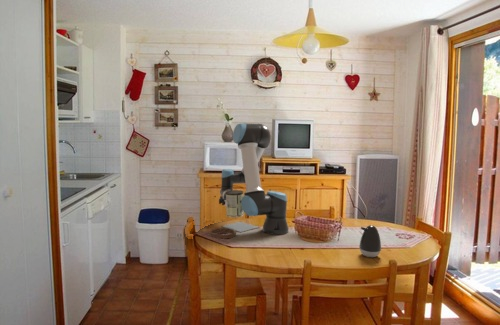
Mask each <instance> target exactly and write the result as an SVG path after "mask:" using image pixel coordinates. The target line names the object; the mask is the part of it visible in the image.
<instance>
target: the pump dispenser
mask: <svg viewBox="0 0 500 325" xmlns="http://www.w3.org/2000/svg"><path fill="white" fill-rule="evenodd" d="M360 229H361V230H363V232H362V235H361V236H360V241H359V251H360V253H361V254H362V255H363V256H364V257H366V258H376V257H377V256H379V254H380V252H381V251H382V241H381V236H380V233H379V231H378V229H377V227H376V226H374V225H371V224H370V225H368V226H366V227H363V226H361V227H360Z"/></svg>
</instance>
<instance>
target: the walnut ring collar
mask: <svg viewBox="0 0 500 325" xmlns="http://www.w3.org/2000/svg"><path fill="white" fill-rule="evenodd" d="M217 232H228V233H229V232H230V233H229V234H216V233H217ZM209 235H210V237H213V238H215V237H216V239H217V238H219V239H231V238H235V237H236V236H237V231H235V230H232V229H227V228H224V227H222V228H221V227H219V228H213V229H211V230H210V231H209Z"/></svg>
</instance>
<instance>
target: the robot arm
mask: <svg viewBox="0 0 500 325" xmlns="http://www.w3.org/2000/svg"><path fill="white" fill-rule="evenodd" d="M232 133H233V134H232V141H233V142H234V143H235V144H237V148H238V150H240V151H241V159H242V169H241V171H240V172H239V171H235V172H234V169H230V168H226V169H222V170H221V186H220V188H221V189H220V190H219V192H220V197H219V200H218V204H219V205H222V206H225V208H226V207H227V203H228V202H227V201H226V192H227V191H232V190H233V188H234V187H233V186H234V185H237V184H245V189H246V190H245V191H244V192H243V197H242V201H241V205H242V209H243V213H245V214H244V215H246V216H249V217H257V216H265V219H264V221H263V225H262V231H263V233H265V234H269V235H285V234H288V233H289V225H288V221H287V205H288V204H287V203H288V195H287V194H286V193H284V192H280V191H274V190H268V191H267V192H266V191H265V190H264V189H263V187H262V183H261V176H260V169H259V162H260V160H261V158H262V156H263V154H264V151H265V150H266V149H268V147H269V145H270V143H271V140H272V139H271V132H270V129H269V128H268V127H267V126H266V125H264V124H262V123H246V122H244V123H237V124H236V125H235V126H234V129H233V132H232ZM265 192H266V194H265Z"/></svg>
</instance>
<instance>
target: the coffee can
mask: <svg viewBox="0 0 500 325" xmlns="http://www.w3.org/2000/svg"><path fill="white" fill-rule="evenodd" d="M243 196H244V191H243V190H237V189H236V190H235V189H234V190H232V191H227V192H226V201H227V202H228V203H227V207H226V206H225V211H226V215H225V216H226V217H227V218H241V217H243V216H244V215H245V214H244V211H243V209H242V205H241V201H242V197H243Z"/></svg>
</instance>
